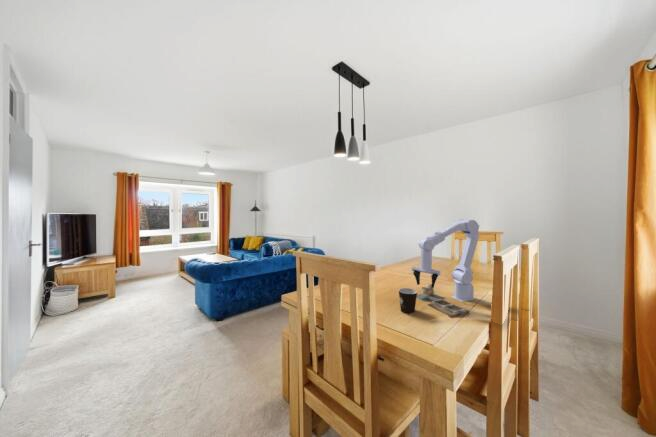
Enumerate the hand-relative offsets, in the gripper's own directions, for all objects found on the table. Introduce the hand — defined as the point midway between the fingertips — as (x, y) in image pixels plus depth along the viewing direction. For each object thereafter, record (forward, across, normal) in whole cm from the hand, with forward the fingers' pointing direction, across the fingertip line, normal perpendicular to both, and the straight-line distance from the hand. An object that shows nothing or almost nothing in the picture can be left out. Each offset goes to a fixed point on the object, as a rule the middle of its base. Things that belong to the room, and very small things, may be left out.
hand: (425, 285), depth 133 cm
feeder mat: (+8, 0, +4) cm, 9 cm away
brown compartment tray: (+8, +13, -6) cm, 16 cm away
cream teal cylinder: (+7, 0, 0) cm, 7 cm away
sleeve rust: (+7, 0, +8) cm, 11 cm away
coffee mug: (+8, -3, -19) cm, 21 cm away
